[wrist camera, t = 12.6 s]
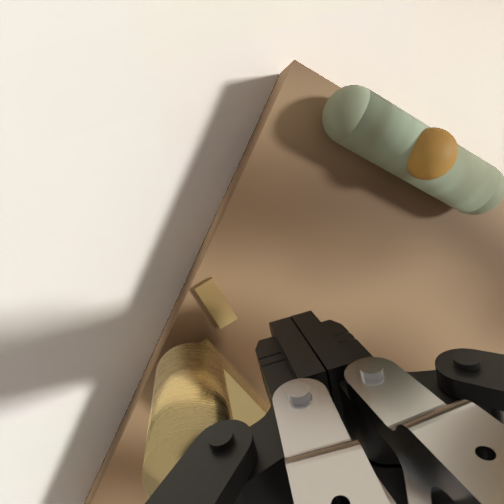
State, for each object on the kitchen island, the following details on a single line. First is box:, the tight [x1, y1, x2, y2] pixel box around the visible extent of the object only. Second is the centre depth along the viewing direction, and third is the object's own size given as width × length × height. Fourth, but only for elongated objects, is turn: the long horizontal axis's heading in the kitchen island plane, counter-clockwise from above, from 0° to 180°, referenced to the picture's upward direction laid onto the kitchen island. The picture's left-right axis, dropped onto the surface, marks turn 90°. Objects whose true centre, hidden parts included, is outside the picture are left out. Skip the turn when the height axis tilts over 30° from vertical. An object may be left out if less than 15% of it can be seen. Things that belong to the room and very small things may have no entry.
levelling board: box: [84, 60, 504, 504], centre depth 17 cm, size 22×26×5 cm
